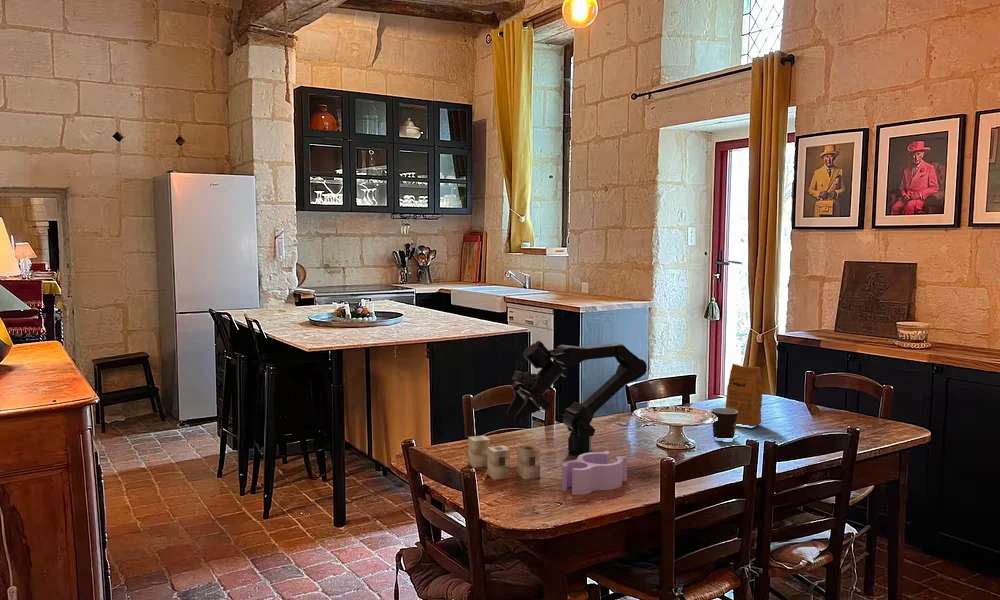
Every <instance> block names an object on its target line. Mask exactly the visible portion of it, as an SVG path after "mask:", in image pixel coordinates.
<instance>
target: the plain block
mask: <svg viewBox="0 0 1000 600" xmlns="http://www.w3.org/2000/svg"><path fill="white" fill-rule="evenodd" d="M467 443H468V444H467V445H468V451H467V452H468V453H467V454H468V458H467V459H468V464H469V465H470V466H471V467H472V468H474V469H476V468H483V466H485V467H488V447H491V439H490V438H489V437H487V436H486V435H476V436H475V435H473V436H468V442H467Z"/></svg>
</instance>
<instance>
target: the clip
mask: <svg viewBox="0 0 1000 600" xmlns="http://www.w3.org/2000/svg"><path fill="white" fill-rule="evenodd" d="M576 458H577V459H574V460H573V459H572V460H568V461H567V460H566V461H564V462H562V464H561V491H563V492H566V491H568V489H569V488H571V494H572V495H574V496H576V495H577V496H583V495H589V494H591V493H592V492H595V491H611V490H616V489H619V488H621V487H622V485H623V482H627V481H628V475H627V474H628V457H627V456H626V455H624V456H623V455H621V456H620V455H618V456H615V460H614V461H615V462H612V463H610V451H609V450H605V451H604V452H603V451H598V452H597V451H595V452H594V451H592V452H590V453H584V454H581V455H577V457H576Z"/></svg>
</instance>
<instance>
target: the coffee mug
mask: <svg viewBox="0 0 1000 600" xmlns="http://www.w3.org/2000/svg"><path fill="white" fill-rule="evenodd" d="M710 412H711V413H713V414H715V415H716V416H717V417H718V421H716V422H714V423H712V422H711V423H712V435H713V436H714V437H717V438H733V437H734V438H735V434H736V433H735V432H736V427H737V426H736V421H737V415H738V411H737V410H734V409H729V408H725V407H715V408H712V409H711V410H710ZM711 413H710V414H711ZM713 436H712V437H713ZM714 437H713V438H714Z"/></svg>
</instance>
